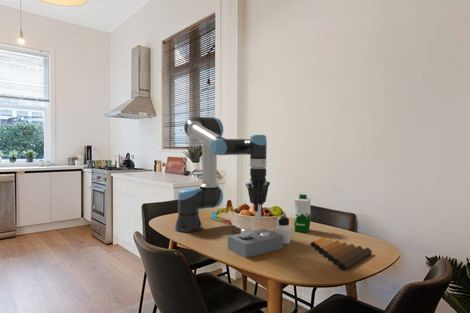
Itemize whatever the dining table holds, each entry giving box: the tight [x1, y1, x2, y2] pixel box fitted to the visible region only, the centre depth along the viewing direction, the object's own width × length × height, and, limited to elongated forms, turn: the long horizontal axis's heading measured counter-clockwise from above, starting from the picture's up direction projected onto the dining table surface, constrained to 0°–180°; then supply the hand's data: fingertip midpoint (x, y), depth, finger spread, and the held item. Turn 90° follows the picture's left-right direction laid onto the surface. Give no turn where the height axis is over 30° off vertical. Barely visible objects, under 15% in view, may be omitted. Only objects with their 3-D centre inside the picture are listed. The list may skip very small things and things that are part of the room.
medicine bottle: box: [274, 216, 292, 245], centre depth 151 cm, size 7×7×12 cm
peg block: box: [227, 228, 284, 259], centre depth 141 cm, size 14×22×6 cm, turn 124°
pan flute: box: [310, 236, 373, 272], centre depth 133 cm, size 25×3×25 cm
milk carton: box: [293, 193, 311, 233], centre depth 170 cm, size 9×9×20 cm
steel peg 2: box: [260, 232, 270, 236], centre depth 144 cm, size 5×5×5 cm
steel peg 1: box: [240, 227, 253, 240], centre depth 137 cm, size 5×5×5 cm
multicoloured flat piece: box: [210, 199, 235, 227], centre depth 186 cm, size 30×3×15 cm, turn 40°
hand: (257, 217), depth 141 cm, fingers closed
